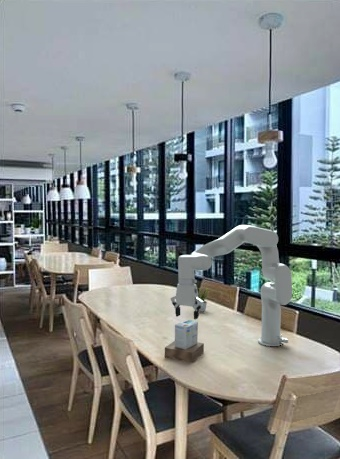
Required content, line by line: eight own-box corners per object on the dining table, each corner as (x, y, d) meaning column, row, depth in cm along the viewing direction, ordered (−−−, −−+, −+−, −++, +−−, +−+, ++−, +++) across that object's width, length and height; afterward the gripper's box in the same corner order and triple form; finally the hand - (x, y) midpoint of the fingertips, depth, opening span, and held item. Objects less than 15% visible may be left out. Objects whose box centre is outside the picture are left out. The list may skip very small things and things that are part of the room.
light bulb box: (186, 340, 188) (186, 318, 188) (198, 343, 185) (198, 321, 184) (173, 346, 180) (174, 324, 179) (185, 350, 176) (186, 327, 175)
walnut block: (203, 353, 186) (203, 343, 185) (192, 363, 173) (192, 352, 173) (177, 348, 192) (177, 338, 191) (164, 358, 179) (164, 347, 179)
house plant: (213, 308, 269) (214, 285, 268) (214, 313, 255) (214, 289, 254) (193, 307, 270) (193, 284, 270) (192, 313, 257) (192, 288, 256)
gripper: (206, 281, 179) (207, 317, 180) (174, 278, 188) (175, 313, 189) (199, 284, 173) (199, 322, 174) (166, 281, 182) (167, 316, 183)
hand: (187, 317), depth 182 cm, fingers open, 9 cm apart
